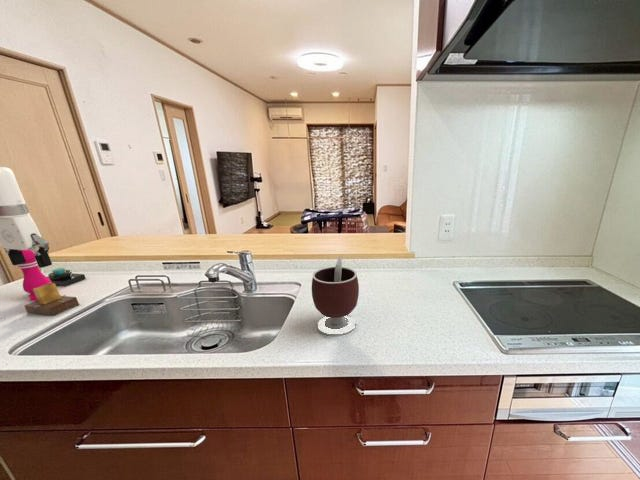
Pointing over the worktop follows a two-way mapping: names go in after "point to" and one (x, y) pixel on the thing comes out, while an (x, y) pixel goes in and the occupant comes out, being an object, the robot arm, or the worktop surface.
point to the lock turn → (47, 293)
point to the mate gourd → (335, 294)
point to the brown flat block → (52, 306)
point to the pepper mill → (32, 274)
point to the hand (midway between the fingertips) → (32, 265)
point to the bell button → (59, 271)
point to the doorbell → (66, 278)
